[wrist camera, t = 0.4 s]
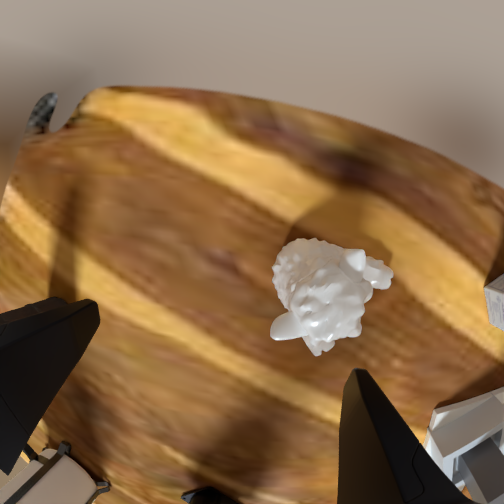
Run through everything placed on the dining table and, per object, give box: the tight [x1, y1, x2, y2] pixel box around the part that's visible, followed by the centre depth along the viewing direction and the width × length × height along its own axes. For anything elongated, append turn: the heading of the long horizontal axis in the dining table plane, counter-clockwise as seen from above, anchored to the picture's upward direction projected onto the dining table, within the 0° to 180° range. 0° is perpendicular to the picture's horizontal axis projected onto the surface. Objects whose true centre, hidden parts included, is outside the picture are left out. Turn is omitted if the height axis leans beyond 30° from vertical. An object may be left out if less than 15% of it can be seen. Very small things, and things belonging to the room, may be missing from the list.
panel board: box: [423, 387, 504, 491], centre depth 23 cm, size 30×11×1 cm, turn 5°
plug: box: [457, 437, 504, 504], centre depth 15 cm, size 5×4×9 cm
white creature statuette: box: [270, 238, 393, 356], centre depth 18 cm, size 10×9×12 cm
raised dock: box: [427, 392, 504, 487], centre depth 20 cm, size 9×9×6 cm
